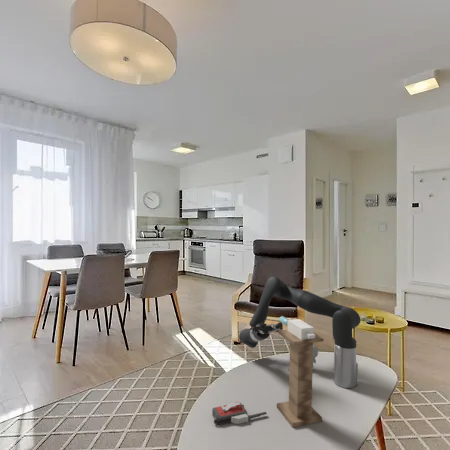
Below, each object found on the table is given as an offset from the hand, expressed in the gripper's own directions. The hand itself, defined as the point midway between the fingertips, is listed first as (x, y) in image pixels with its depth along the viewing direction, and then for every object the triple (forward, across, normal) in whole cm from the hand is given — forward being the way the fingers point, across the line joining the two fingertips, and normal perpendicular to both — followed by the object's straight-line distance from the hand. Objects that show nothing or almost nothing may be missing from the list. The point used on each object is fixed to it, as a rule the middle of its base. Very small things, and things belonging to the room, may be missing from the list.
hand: (272, 325), depth 135 cm
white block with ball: (+19, 0, +6) cm, 20 cm away
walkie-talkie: (+2, -22, +32) cm, 39 cm away
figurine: (-20, +24, +19) cm, 36 cm away
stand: (+7, 0, +34) cm, 34 cm away
